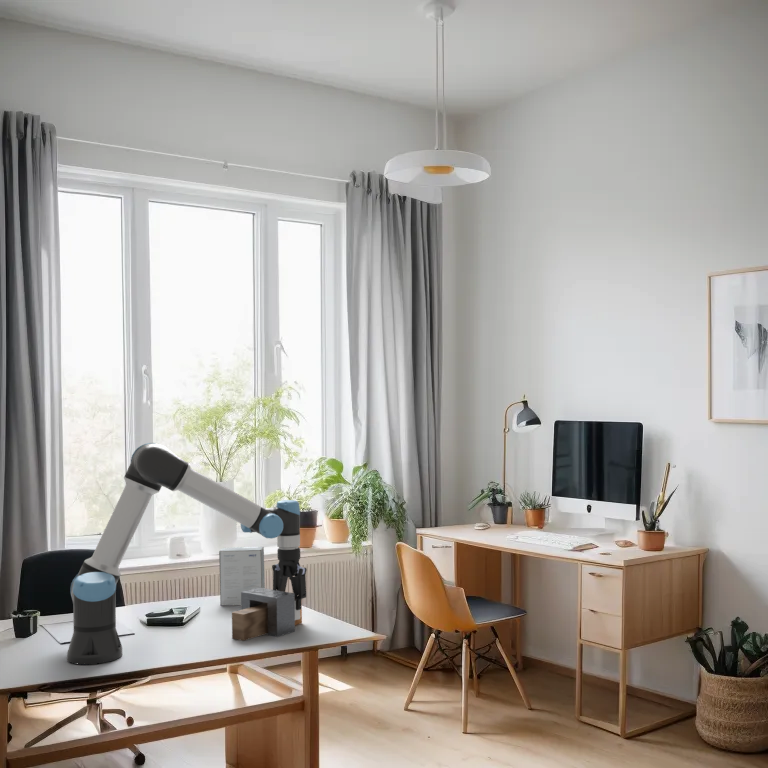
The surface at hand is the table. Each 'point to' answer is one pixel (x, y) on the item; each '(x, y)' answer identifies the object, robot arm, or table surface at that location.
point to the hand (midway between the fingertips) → (289, 618)
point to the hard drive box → (240, 572)
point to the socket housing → (273, 608)
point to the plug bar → (252, 622)
